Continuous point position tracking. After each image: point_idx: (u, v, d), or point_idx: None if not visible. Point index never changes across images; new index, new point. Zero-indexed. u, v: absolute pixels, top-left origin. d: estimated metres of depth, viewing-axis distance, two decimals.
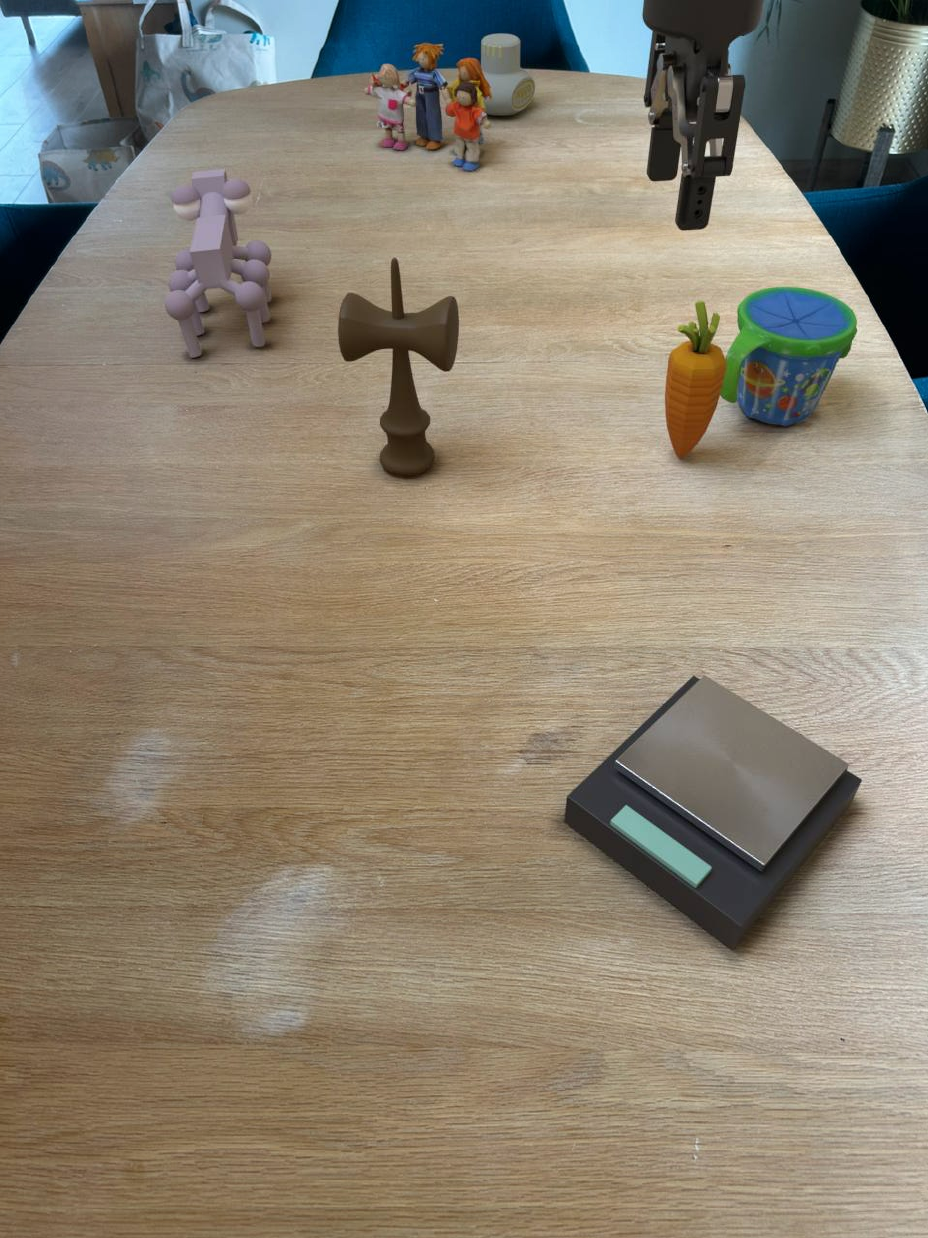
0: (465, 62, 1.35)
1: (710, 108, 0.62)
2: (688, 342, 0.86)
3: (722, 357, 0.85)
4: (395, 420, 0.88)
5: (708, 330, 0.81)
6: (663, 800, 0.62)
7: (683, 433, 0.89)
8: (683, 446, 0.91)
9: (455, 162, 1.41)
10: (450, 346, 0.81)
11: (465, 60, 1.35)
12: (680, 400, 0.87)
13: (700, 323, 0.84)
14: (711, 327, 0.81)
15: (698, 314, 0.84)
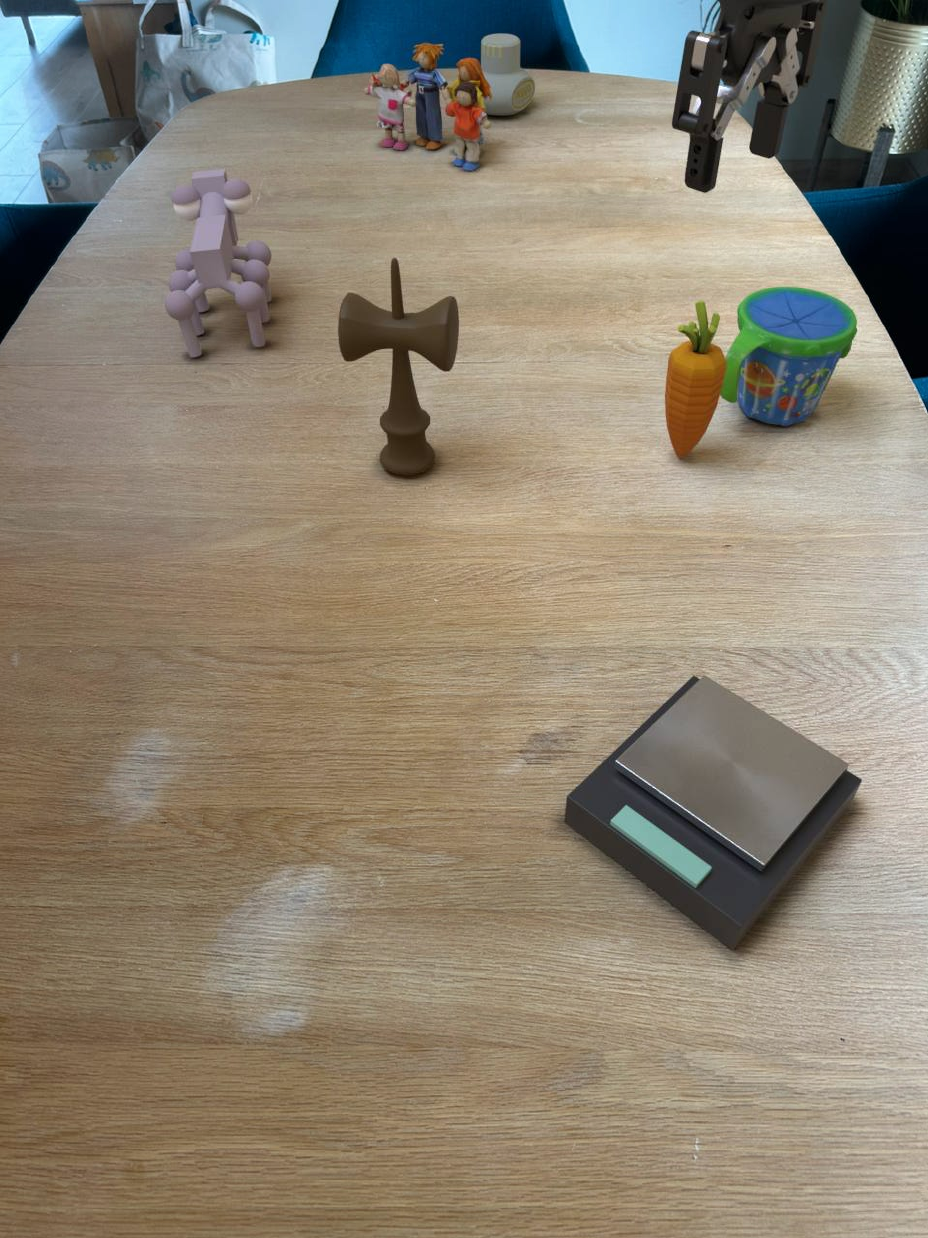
0: (465, 62, 1.35)
1: (686, 61, 0.65)
2: (688, 342, 0.86)
3: (722, 357, 0.85)
4: (395, 420, 0.88)
5: (708, 330, 0.81)
6: (663, 800, 0.62)
7: (683, 433, 0.89)
8: (683, 446, 0.91)
9: (455, 162, 1.41)
10: (450, 346, 0.81)
11: (465, 60, 1.35)
12: (680, 400, 0.87)
13: (700, 323, 0.84)
14: (711, 327, 0.81)
15: (698, 314, 0.84)
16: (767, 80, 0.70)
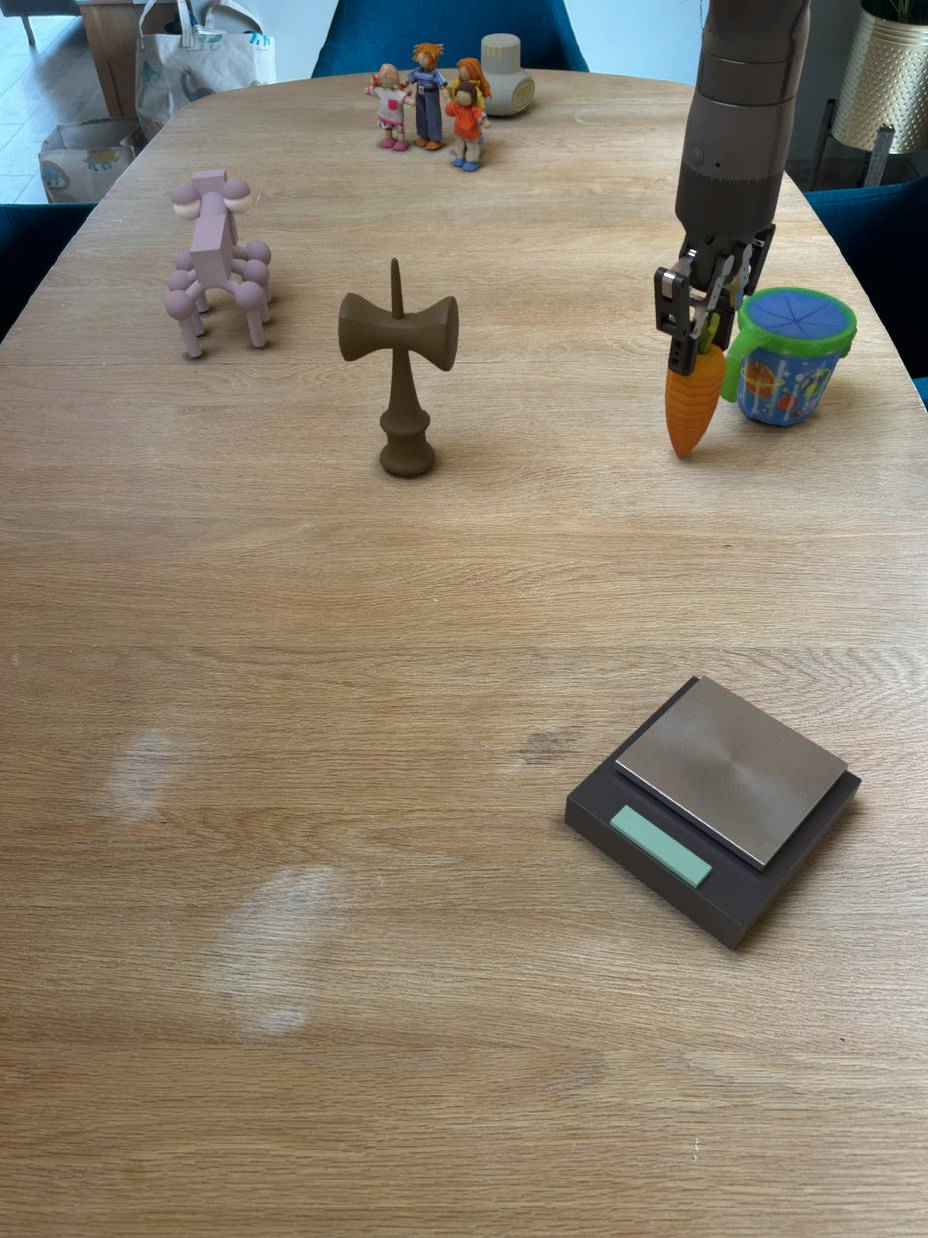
0: (465, 62, 1.35)
1: (658, 292, 0.77)
2: None
3: (722, 357, 0.85)
4: (395, 420, 0.88)
5: (708, 330, 0.81)
6: (663, 800, 0.62)
7: (683, 433, 0.89)
8: (683, 446, 0.91)
9: (455, 162, 1.41)
10: (450, 346, 0.81)
11: (465, 60, 1.35)
12: (680, 401, 0.87)
13: None
14: (711, 327, 0.81)
15: None
16: (728, 282, 0.81)
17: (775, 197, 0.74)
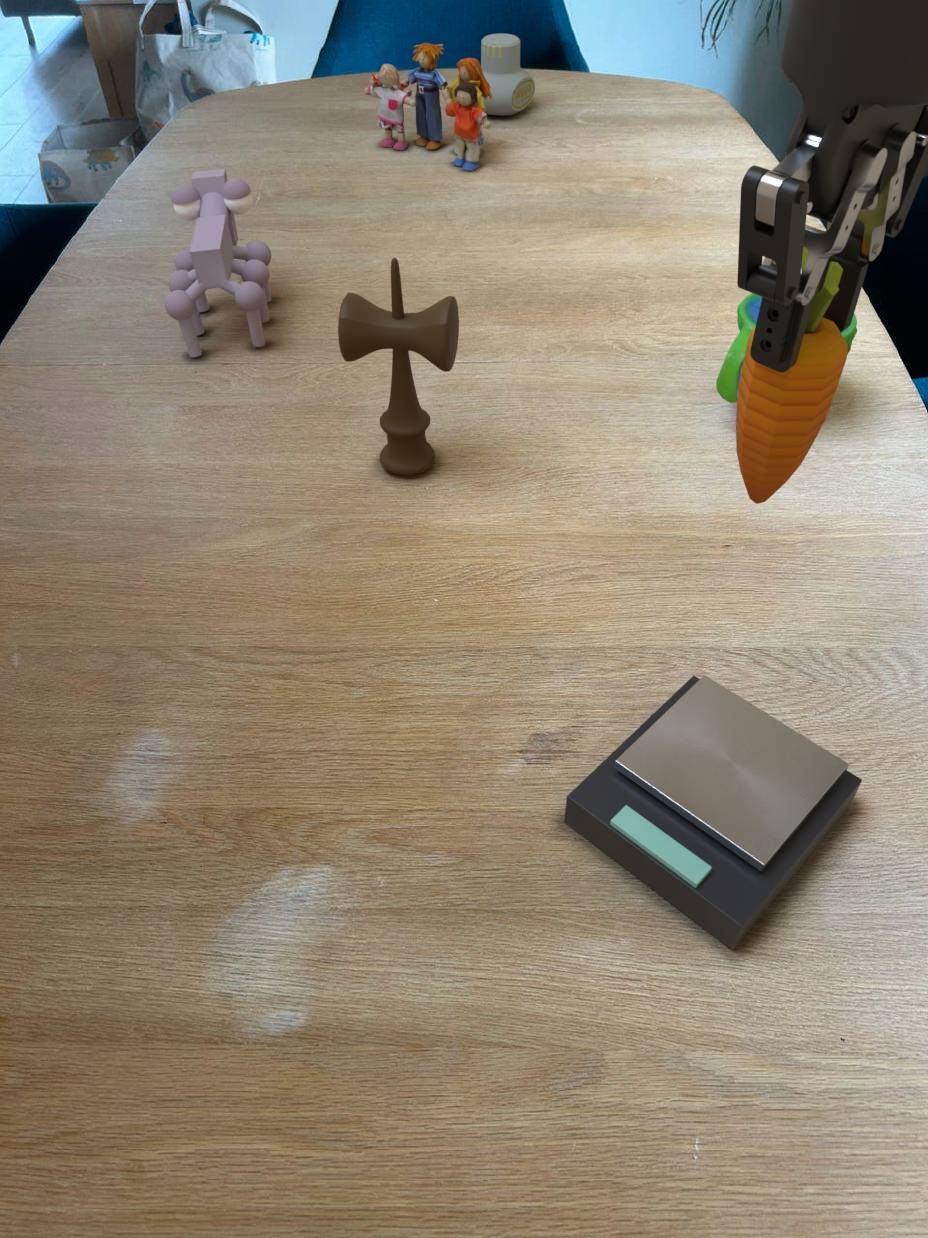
0: (465, 62, 1.35)
1: (747, 214, 0.42)
2: None
3: (842, 340, 0.50)
4: (395, 420, 0.88)
5: (825, 290, 0.46)
6: (663, 800, 0.62)
7: (766, 466, 0.54)
8: (764, 487, 0.56)
9: (455, 162, 1.41)
10: (450, 346, 0.81)
11: (465, 60, 1.35)
12: (766, 412, 0.52)
13: None
14: (831, 285, 0.46)
15: (804, 264, 0.49)
16: (866, 206, 0.46)
17: None
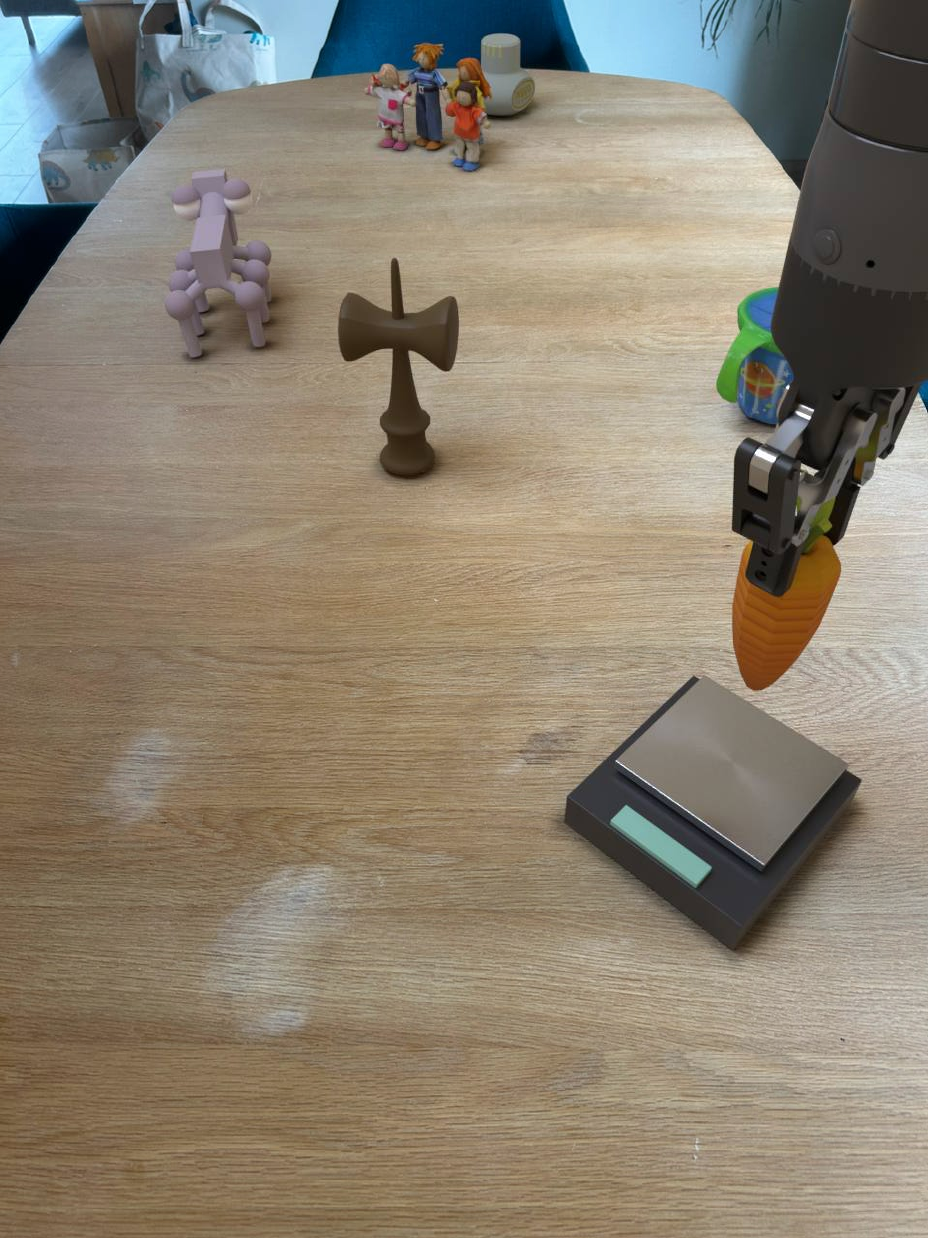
0: (465, 62, 1.35)
1: (741, 480, 0.42)
2: None
3: (835, 560, 0.50)
4: (395, 420, 0.88)
5: (818, 527, 0.47)
6: (663, 800, 0.62)
7: (762, 668, 0.55)
8: (761, 682, 0.56)
9: (455, 162, 1.41)
10: (450, 346, 0.81)
11: (465, 60, 1.35)
12: (761, 624, 0.52)
13: (799, 505, 0.49)
14: (824, 522, 0.47)
15: None
16: None
17: None
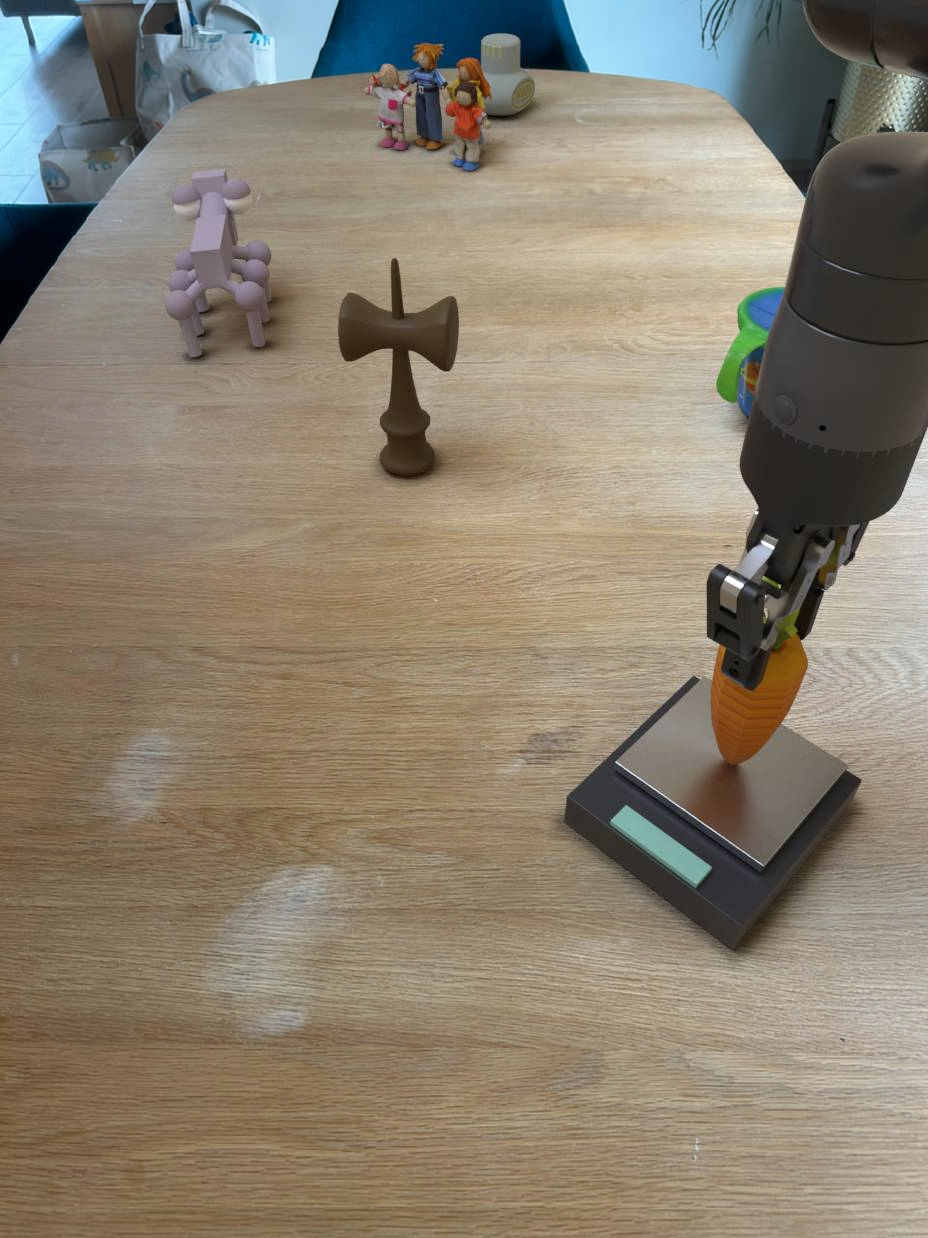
0: (465, 62, 1.35)
1: (713, 600, 0.48)
2: None
3: (802, 655, 0.55)
4: (395, 420, 0.88)
5: (785, 632, 0.52)
6: (663, 801, 0.62)
7: (738, 747, 0.60)
8: (737, 758, 0.61)
9: (455, 162, 1.41)
10: (450, 346, 0.81)
11: (465, 60, 1.35)
12: (736, 711, 0.57)
13: None
14: (790, 628, 0.52)
15: None
16: None
17: (912, 466, 0.44)
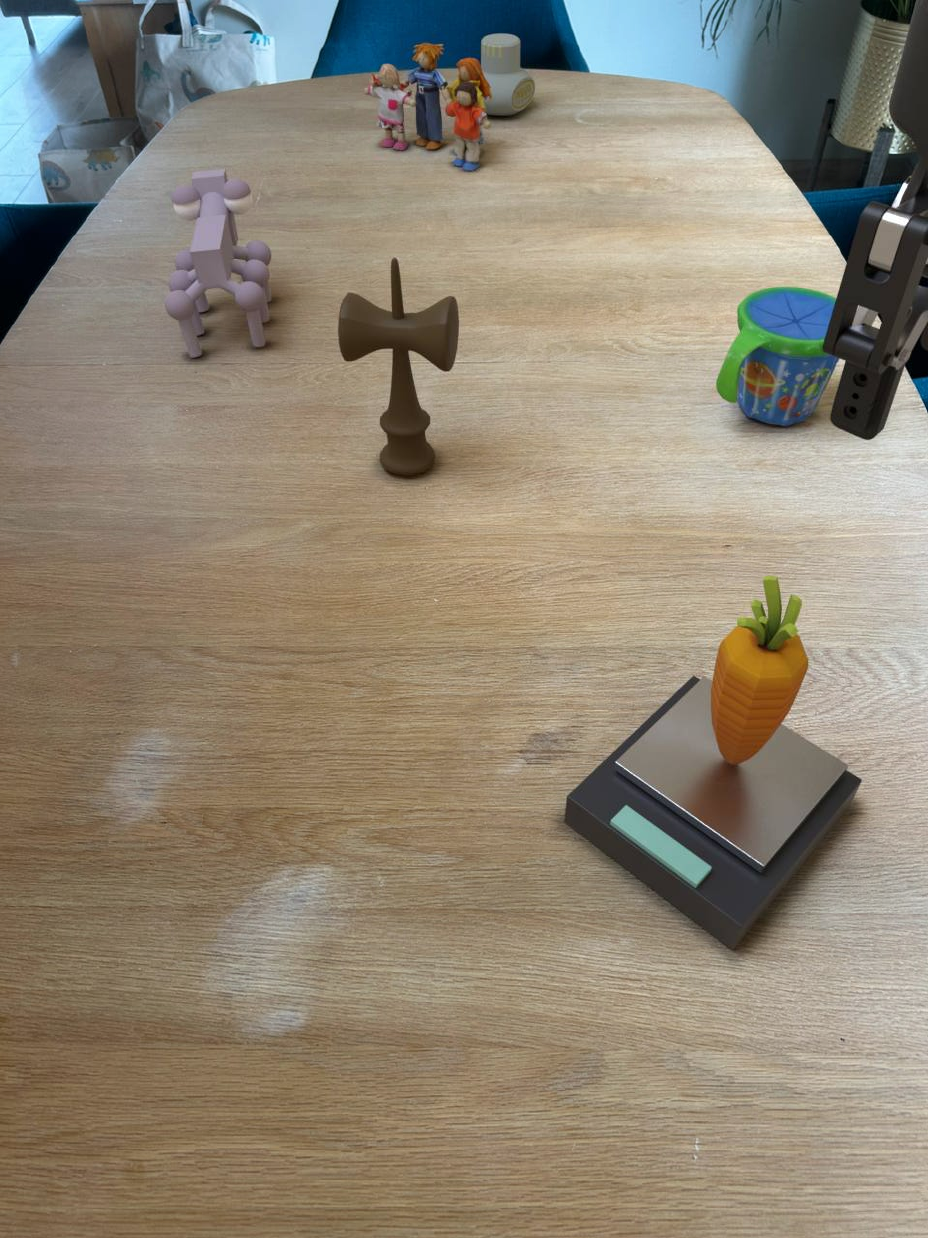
0: (465, 62, 1.35)
1: (859, 254, 0.37)
2: None
3: (803, 656, 0.55)
4: (395, 420, 0.88)
5: (786, 632, 0.52)
6: (663, 801, 0.62)
7: (738, 747, 0.60)
8: (737, 758, 0.61)
9: (455, 162, 1.41)
10: (450, 346, 0.81)
11: (465, 60, 1.35)
12: (736, 711, 0.57)
13: (770, 608, 0.55)
14: (791, 628, 0.52)
15: (767, 595, 0.54)
16: None
17: None
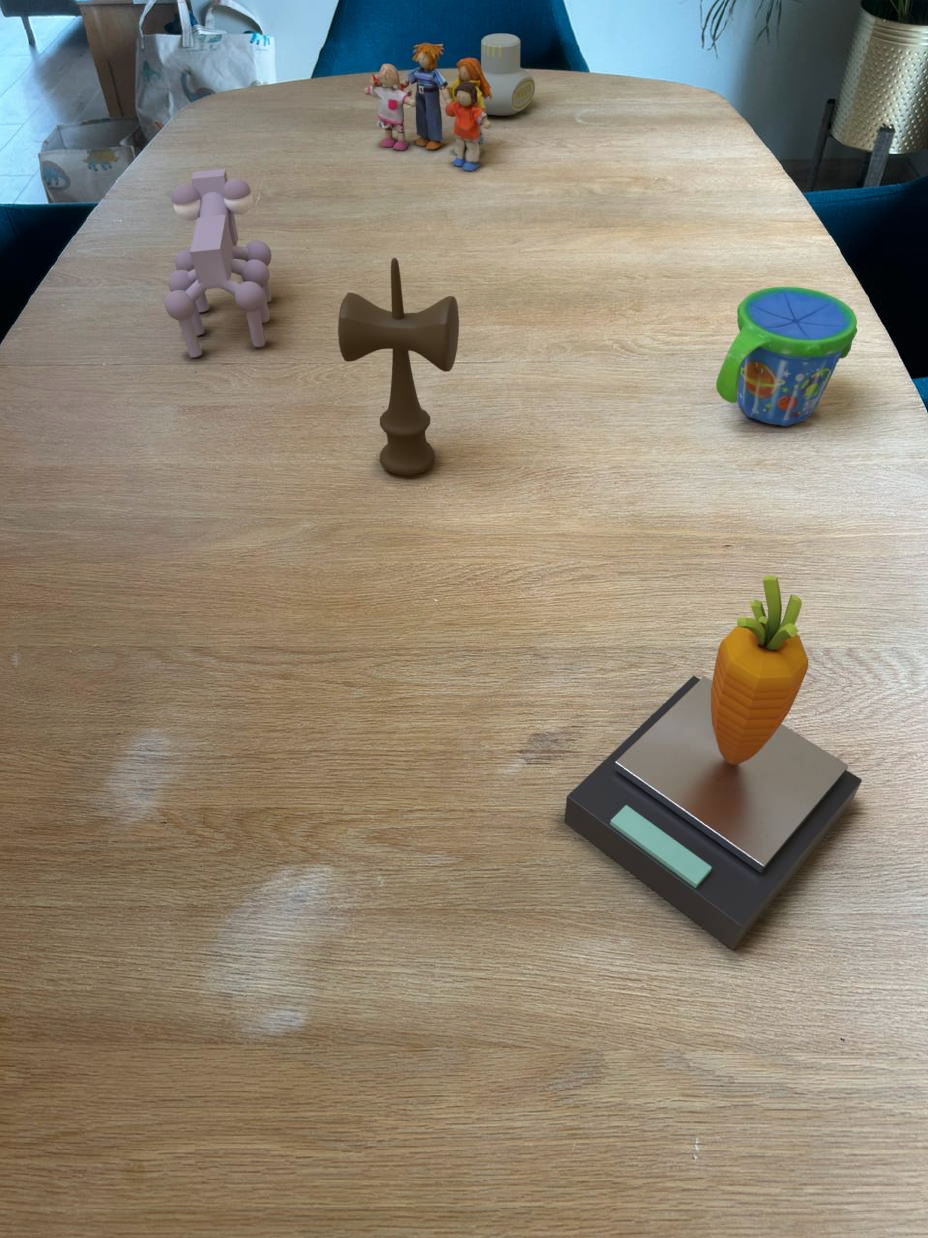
0: (465, 62, 1.35)
1: None
2: None
3: (803, 656, 0.55)
4: (395, 420, 0.88)
5: (786, 632, 0.52)
6: (663, 801, 0.62)
7: (738, 747, 0.60)
8: (737, 758, 0.61)
9: (455, 162, 1.41)
10: (450, 346, 0.81)
11: (465, 60, 1.35)
12: (736, 711, 0.57)
13: (770, 608, 0.55)
14: (791, 628, 0.52)
15: (767, 595, 0.54)
16: None
17: None
